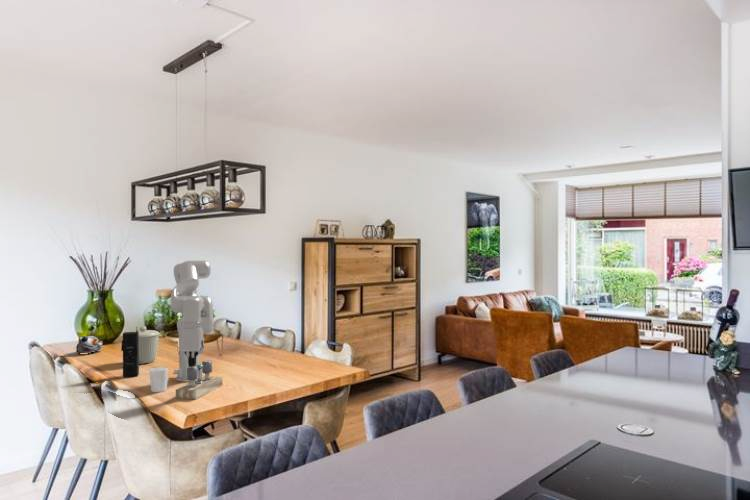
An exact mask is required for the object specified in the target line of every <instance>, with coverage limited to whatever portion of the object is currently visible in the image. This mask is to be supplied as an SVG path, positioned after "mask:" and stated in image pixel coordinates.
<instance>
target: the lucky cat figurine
mask: <svg viewBox="0 0 750 500" xmlns="http://www.w3.org/2000/svg"><path fill="white" fill-rule="evenodd" d="M102 346H103V341H102V340H99V339H98V337H96V336H94V335H88V336H83V337H82V336H79V337H78V343H77V344H76V350H75V351H76V353H78V354H79V353H89V354H92V353H91V352H94V353H96V352H95V351H100V350H101V351H102ZM101 351H100V352H101Z"/></svg>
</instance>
